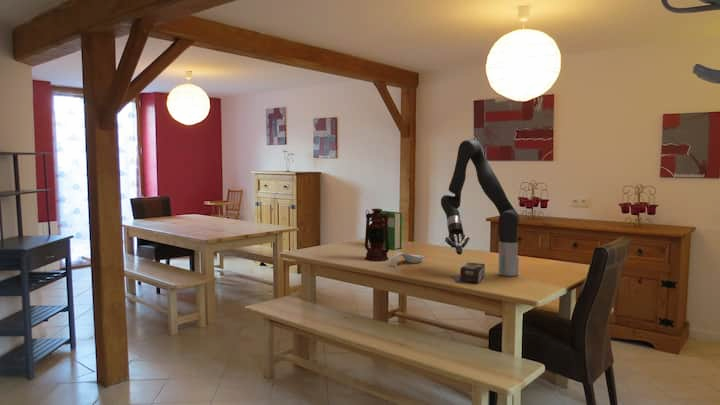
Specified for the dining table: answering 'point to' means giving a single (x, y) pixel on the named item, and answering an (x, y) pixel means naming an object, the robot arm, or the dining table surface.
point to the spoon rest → (406, 256)
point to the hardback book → (394, 230)
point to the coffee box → (472, 272)
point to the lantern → (377, 236)
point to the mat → (458, 278)
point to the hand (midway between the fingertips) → (459, 253)
